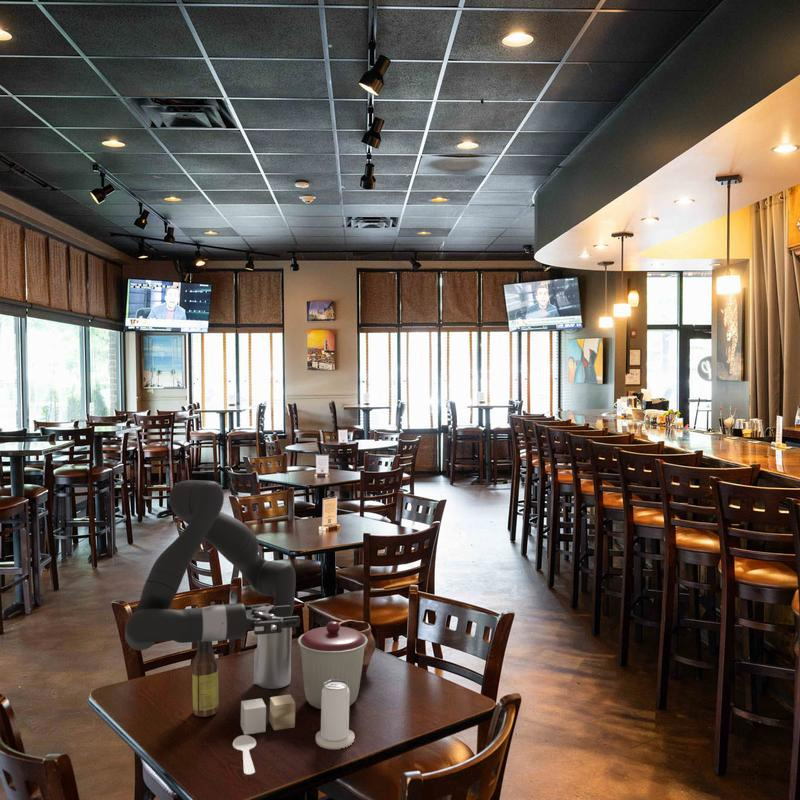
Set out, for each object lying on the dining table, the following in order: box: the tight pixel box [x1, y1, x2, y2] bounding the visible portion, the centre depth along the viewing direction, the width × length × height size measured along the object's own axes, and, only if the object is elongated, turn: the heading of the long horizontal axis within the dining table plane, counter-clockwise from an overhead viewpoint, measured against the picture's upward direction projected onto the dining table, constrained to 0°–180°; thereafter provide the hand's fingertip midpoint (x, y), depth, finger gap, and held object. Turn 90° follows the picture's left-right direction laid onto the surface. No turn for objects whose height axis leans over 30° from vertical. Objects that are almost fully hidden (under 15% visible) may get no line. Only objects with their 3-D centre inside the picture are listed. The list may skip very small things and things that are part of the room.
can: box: [320, 680, 350, 742], centre depth 171 cm, size 6×6×12 cm
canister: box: [297, 620, 368, 710], centre depth 191 cm, size 18×18×21 cm
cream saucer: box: [315, 729, 355, 750], centre depth 171 cm, size 9×9×1 cm
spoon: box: [232, 734, 257, 776], centre depth 163 cm, size 5×18×1 cm, turn 17°
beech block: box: [269, 694, 296, 731], centre depth 178 cm, size 5×5×6 cm
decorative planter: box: [338, 619, 376, 676], centre depth 211 cm, size 20×12×14 cm, turn 29°
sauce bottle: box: [191, 641, 219, 718], centre depth 183 cm, size 7×6×20 cm
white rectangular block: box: [240, 698, 267, 736], centre depth 176 cm, size 5×5×6 cm
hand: (295, 615), depth 167 cm, fingers open, 8 cm apart
